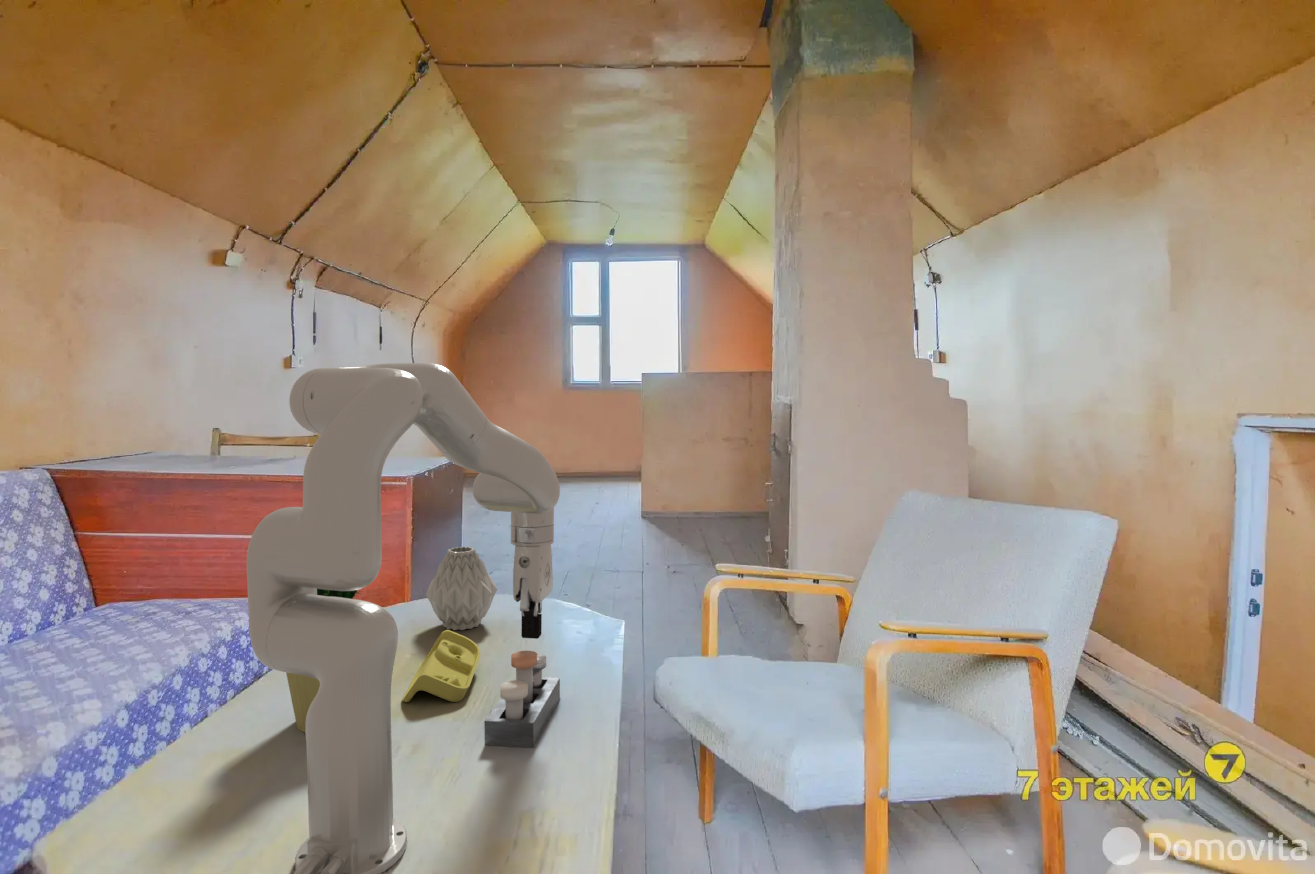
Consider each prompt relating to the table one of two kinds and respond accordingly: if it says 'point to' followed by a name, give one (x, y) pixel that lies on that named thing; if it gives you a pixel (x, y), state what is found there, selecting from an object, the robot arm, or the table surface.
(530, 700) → the terracotta plunger
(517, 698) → the ivory plunger
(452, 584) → the vase
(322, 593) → the potted cactus
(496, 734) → the grey socket block
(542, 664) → the grey plunger
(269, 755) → the table surface
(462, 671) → the plastic component
